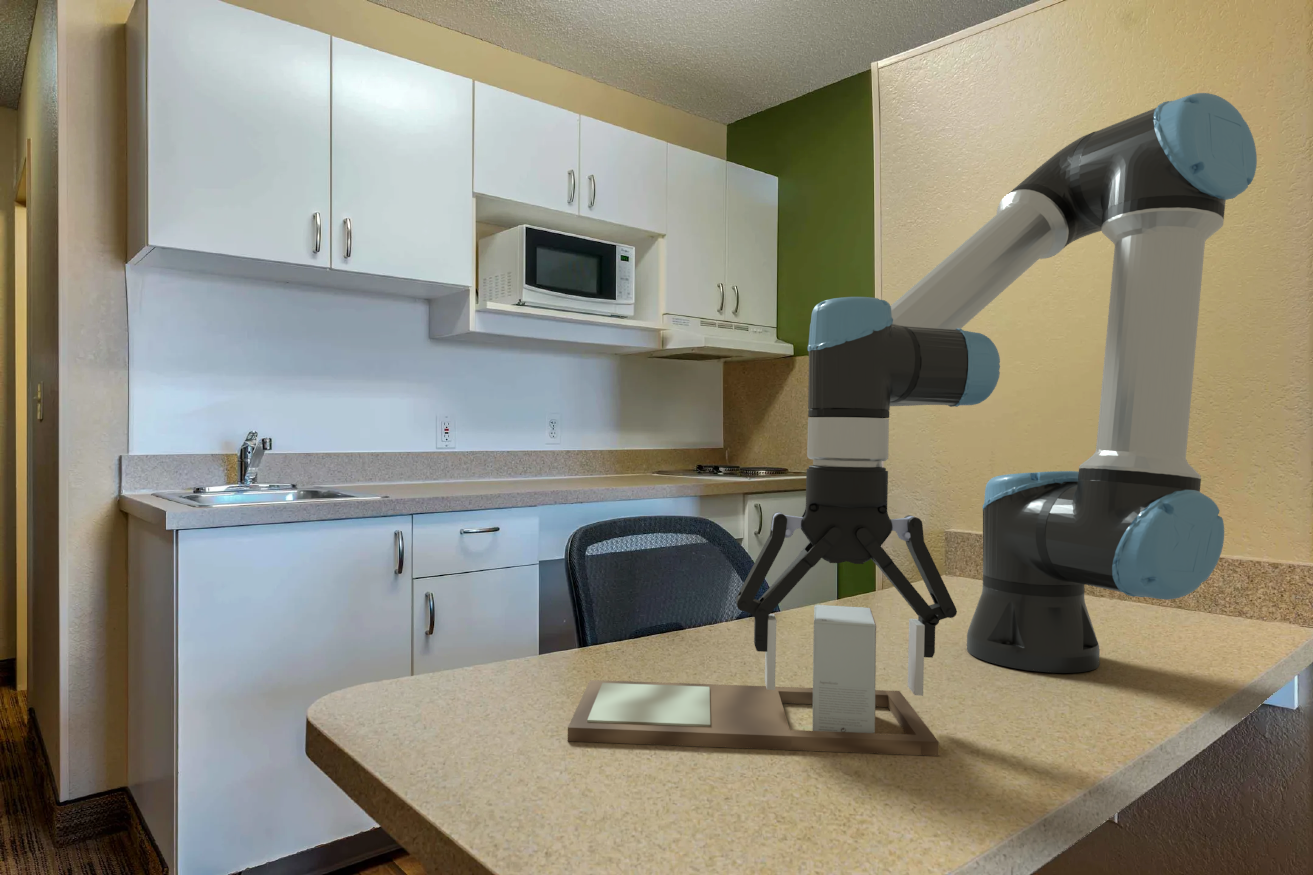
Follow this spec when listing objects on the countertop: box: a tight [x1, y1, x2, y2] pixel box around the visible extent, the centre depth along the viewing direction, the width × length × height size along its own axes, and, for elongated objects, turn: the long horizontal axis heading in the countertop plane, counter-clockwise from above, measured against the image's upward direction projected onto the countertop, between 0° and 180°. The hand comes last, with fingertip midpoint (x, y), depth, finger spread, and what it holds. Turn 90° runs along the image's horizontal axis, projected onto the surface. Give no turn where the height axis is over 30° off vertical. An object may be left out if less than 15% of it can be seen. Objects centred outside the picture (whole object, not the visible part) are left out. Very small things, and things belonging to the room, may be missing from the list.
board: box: [567, 679, 940, 757], centre depth 78 cm, size 32×14×1 cm, turn 87°
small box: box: [812, 604, 877, 733], centre depth 77 cm, size 8×6×10 cm
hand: (842, 688), depth 77 cm, fingers open, 13 cm apart
